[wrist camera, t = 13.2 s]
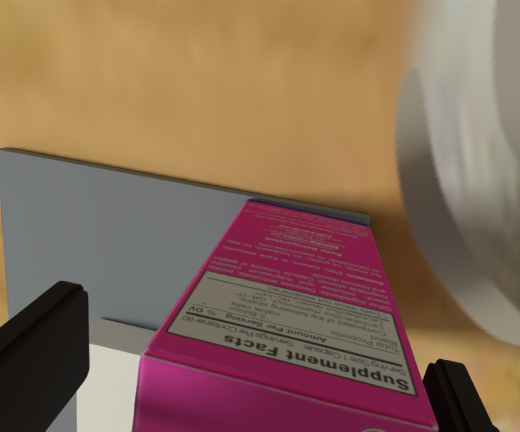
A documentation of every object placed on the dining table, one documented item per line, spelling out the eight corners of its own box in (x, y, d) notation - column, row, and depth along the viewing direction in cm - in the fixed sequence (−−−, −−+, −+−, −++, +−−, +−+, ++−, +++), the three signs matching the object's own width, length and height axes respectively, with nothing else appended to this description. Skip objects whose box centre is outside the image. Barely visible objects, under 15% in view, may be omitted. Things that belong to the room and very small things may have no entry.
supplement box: (345, 334, 19) (360, 642, 9) (226, 304, 20) (102, 556, 9) (377, 222, 18) (449, 439, 7) (245, 193, 18) (118, 349, 7)
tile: (76, 340, 20) (77, 462, 22) (215, 373, 19) (199, 496, 21) (100, 316, 22) (98, 431, 24) (226, 345, 21) (211, 461, 23)
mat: (6, 147, 20) (-4, 149, 20) (370, 214, 18) (371, 218, 18) (23, 425, 26) (16, 432, 25) (300, 500, 24) (299, 510, 23)
